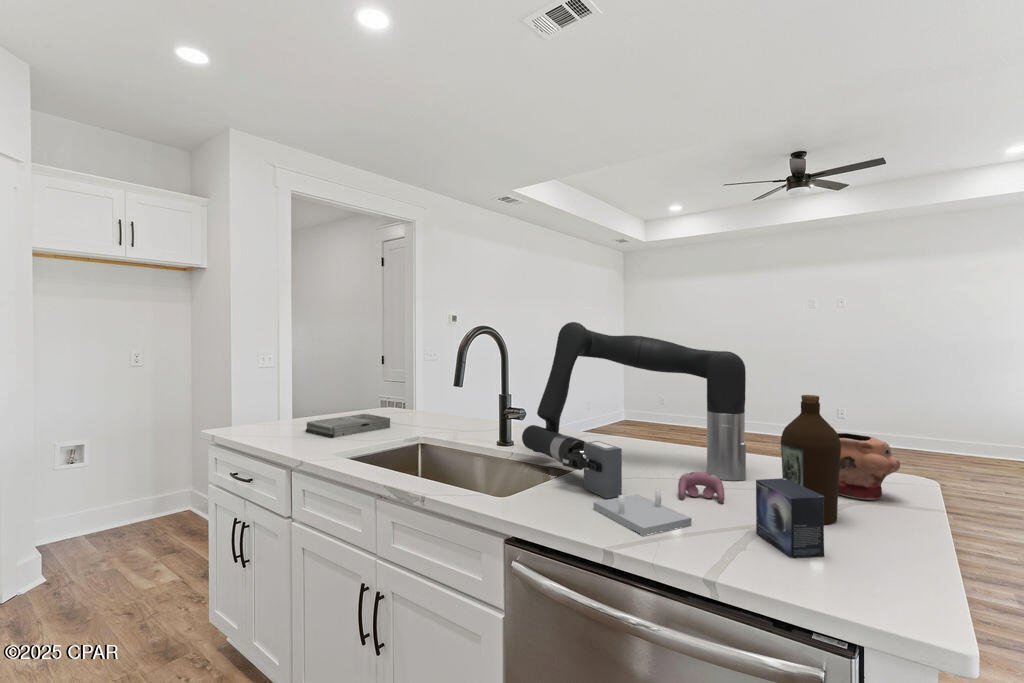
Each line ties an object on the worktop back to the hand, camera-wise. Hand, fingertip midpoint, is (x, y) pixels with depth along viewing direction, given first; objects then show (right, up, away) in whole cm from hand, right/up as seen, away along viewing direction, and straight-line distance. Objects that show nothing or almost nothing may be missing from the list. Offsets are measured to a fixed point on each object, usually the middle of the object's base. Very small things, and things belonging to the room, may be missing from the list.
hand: (609, 466), depth 113 cm
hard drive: (-88, -7, +82) cm, 121 cm away
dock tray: (+4, -7, -13) cm, 15 cm away
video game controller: (+21, -7, -1) cm, 22 cm away
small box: (+27, -7, -26) cm, 38 cm away
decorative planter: (+57, -7, +2) cm, 57 cm away
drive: (-1, -7, +3) cm, 7 cm away
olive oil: (+39, -7, -13) cm, 42 cm away
